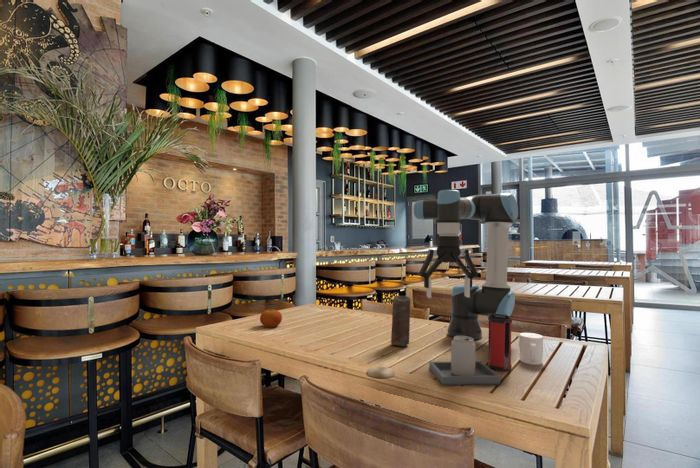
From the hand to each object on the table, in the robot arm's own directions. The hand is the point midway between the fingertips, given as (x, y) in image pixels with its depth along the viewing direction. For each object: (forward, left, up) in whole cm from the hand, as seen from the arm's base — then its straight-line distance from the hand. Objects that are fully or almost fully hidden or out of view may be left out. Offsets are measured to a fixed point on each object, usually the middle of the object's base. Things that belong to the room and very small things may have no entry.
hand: (448, 297), depth 129 cm
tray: (-2, +8, -24) cm, 26 cm away
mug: (-33, -6, -25) cm, 42 cm away
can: (-2, +8, -24) cm, 25 cm away
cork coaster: (+24, +4, -24) cm, 34 cm away
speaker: (-18, 0, -25) cm, 31 cm away
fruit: (+68, -60, -25) cm, 93 cm away
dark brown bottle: (+11, -27, -25) cm, 38 cm away
